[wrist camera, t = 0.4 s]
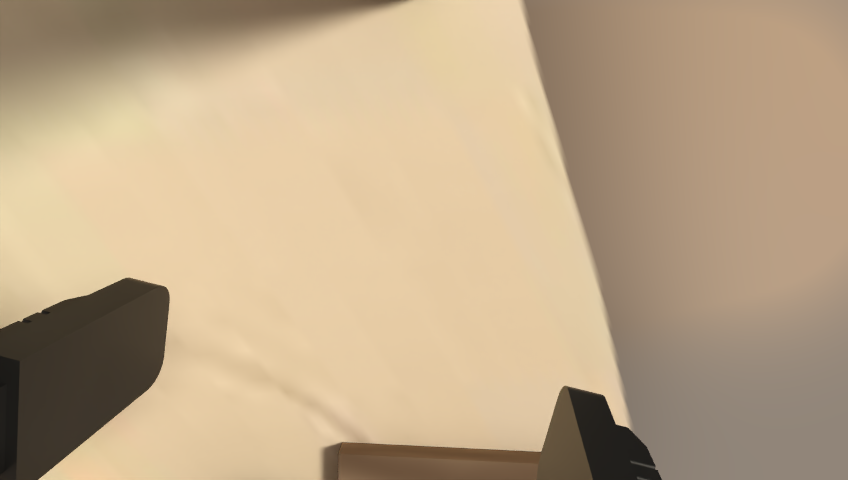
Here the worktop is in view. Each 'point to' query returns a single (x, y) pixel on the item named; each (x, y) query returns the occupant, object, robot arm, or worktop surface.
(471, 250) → the worktop surface
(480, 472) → the base plate
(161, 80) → the worktop surface
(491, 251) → the worktop surface
